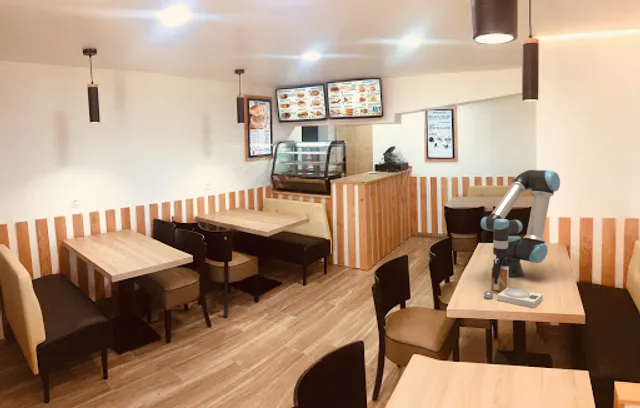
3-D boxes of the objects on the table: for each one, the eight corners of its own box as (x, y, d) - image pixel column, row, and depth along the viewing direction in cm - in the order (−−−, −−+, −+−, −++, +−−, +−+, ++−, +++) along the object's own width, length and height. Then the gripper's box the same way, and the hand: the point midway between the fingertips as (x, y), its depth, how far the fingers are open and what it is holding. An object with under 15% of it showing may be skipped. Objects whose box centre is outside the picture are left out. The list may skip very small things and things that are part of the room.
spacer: (485, 296, 243) (485, 290, 242) (494, 297, 240) (494, 292, 239) (482, 298, 240) (482, 292, 239) (490, 300, 237) (490, 294, 236)
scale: (497, 300, 236) (497, 293, 235) (506, 292, 246) (507, 285, 245) (533, 308, 224) (534, 300, 223) (542, 299, 234) (542, 292, 233)
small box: (491, 290, 251) (491, 267, 249) (493, 287, 256) (493, 264, 254) (506, 292, 247) (507, 269, 245) (508, 288, 252) (508, 266, 250)
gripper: (501, 242, 259) (500, 280, 262) (485, 250, 242) (485, 291, 246) (514, 244, 254) (513, 283, 257) (500, 252, 237) (499, 293, 241)
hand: (499, 286), depth 251 cm, fingers open, 9 cm apart
